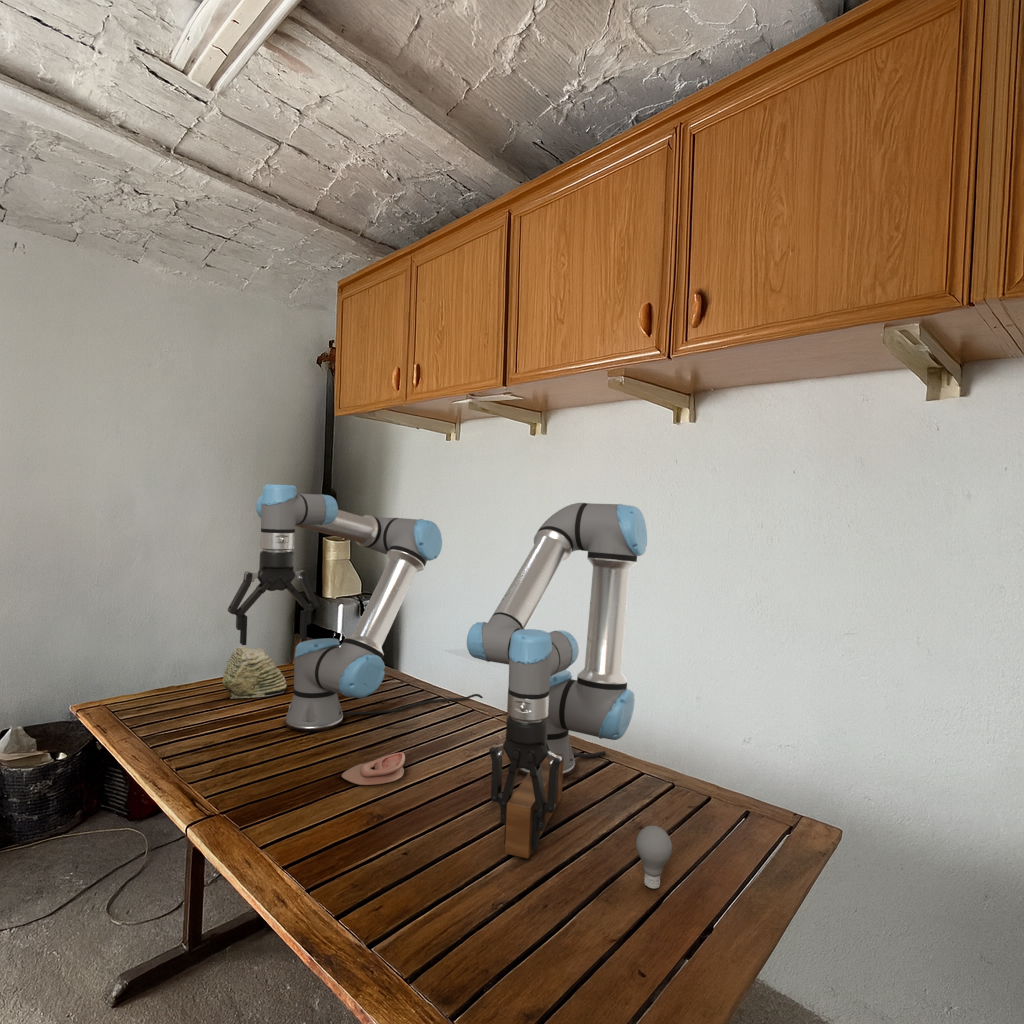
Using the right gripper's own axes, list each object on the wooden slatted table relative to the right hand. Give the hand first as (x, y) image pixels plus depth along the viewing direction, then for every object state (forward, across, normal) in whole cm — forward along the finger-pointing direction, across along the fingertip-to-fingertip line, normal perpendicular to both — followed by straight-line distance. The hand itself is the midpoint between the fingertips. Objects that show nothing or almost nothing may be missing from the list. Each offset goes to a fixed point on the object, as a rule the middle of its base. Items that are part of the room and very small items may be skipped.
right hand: (521, 843), depth 115 cm
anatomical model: (+2, -41, +18) cm, 45 cm away
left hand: (-27, -66, +13) cm, 73 cm away
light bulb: (+2, +24, -1) cm, 24 cm away
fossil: (+2, -104, +53) cm, 117 cm away
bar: (+1, 0, +10) cm, 10 cm away
